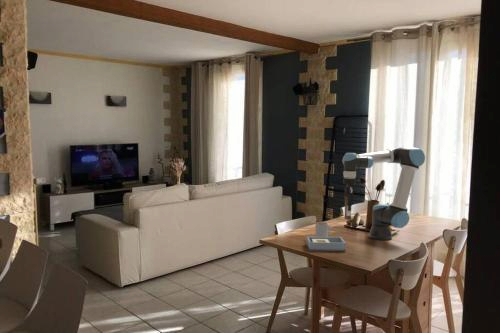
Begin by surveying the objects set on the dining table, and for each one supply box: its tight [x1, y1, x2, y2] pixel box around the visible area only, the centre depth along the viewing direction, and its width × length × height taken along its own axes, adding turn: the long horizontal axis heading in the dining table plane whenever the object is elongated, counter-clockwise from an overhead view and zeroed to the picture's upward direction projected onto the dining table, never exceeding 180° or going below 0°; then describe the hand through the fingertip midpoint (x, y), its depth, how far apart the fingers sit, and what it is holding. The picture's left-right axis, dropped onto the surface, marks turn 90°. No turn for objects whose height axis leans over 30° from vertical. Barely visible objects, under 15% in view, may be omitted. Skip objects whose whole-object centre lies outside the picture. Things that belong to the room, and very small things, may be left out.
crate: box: [306, 236, 347, 252], centre depth 252 cm, size 22×14×5 cm, turn 89°
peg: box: [343, 196, 352, 221], centre depth 250 cm, size 4×4×14 cm
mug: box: [314, 221, 332, 237], centre depth 272 cm, size 12×8×11 cm
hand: (347, 214), depth 250 cm, fingers closed on peg, 4 cm apart
